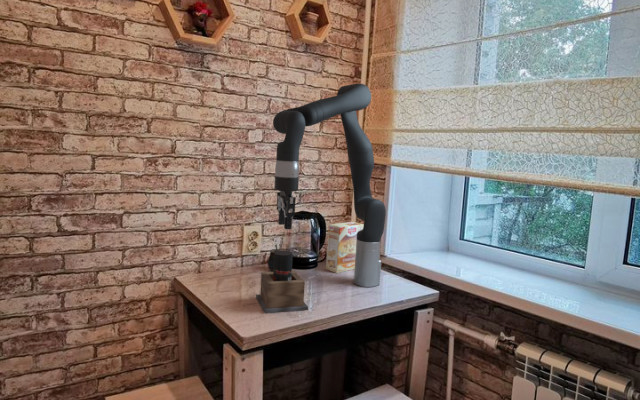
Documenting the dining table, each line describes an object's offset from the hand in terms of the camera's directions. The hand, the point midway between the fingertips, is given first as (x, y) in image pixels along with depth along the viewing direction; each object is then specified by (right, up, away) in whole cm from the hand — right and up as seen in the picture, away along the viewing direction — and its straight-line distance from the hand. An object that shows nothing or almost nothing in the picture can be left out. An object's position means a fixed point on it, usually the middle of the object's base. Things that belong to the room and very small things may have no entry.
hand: (284, 226), depth 139 cm
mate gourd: (-7, -20, +40) cm, 46 cm away
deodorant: (-1, -24, +3) cm, 24 cm away
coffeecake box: (+21, -21, +47) cm, 56 cm away
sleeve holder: (-1, -25, +3) cm, 26 cm away
